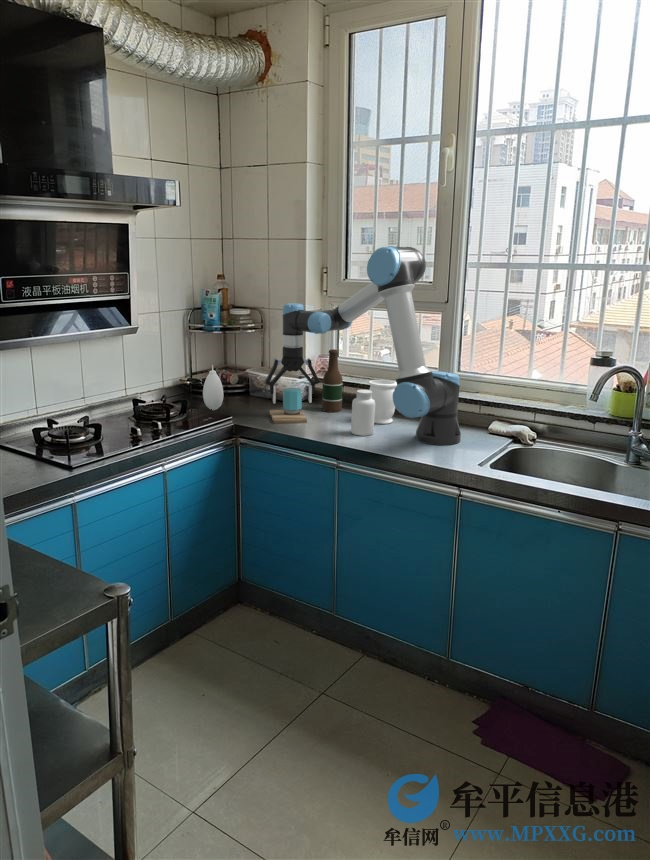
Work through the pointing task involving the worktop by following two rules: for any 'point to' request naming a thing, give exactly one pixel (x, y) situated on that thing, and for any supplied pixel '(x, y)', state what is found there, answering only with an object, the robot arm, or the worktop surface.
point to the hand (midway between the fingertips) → (292, 402)
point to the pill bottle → (363, 413)
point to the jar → (383, 400)
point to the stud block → (287, 416)
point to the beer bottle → (332, 385)
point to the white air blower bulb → (213, 391)
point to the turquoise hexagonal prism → (292, 398)
